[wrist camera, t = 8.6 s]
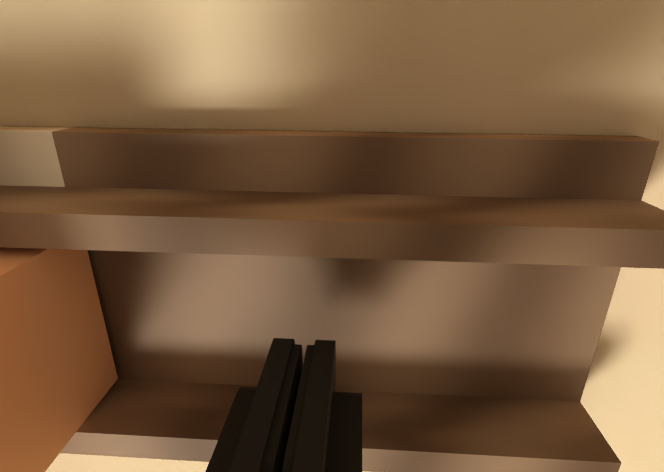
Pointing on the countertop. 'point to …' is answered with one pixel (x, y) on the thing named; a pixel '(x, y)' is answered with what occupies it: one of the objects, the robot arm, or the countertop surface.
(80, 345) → the block
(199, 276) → the chute
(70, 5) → the countertop surface
